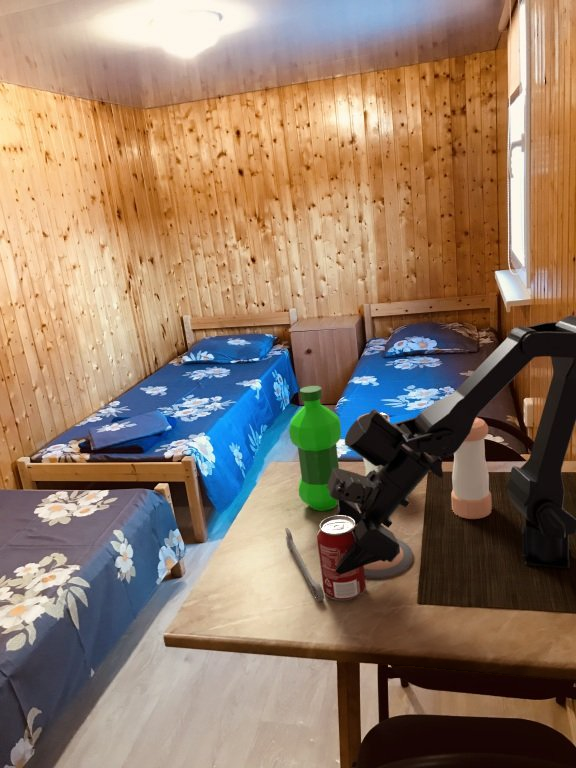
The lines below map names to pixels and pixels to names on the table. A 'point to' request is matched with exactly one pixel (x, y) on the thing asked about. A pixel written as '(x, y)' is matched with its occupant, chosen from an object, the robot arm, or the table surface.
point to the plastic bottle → (316, 448)
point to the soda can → (338, 559)
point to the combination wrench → (304, 569)
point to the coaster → (390, 564)
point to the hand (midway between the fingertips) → (332, 556)
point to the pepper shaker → (471, 476)
